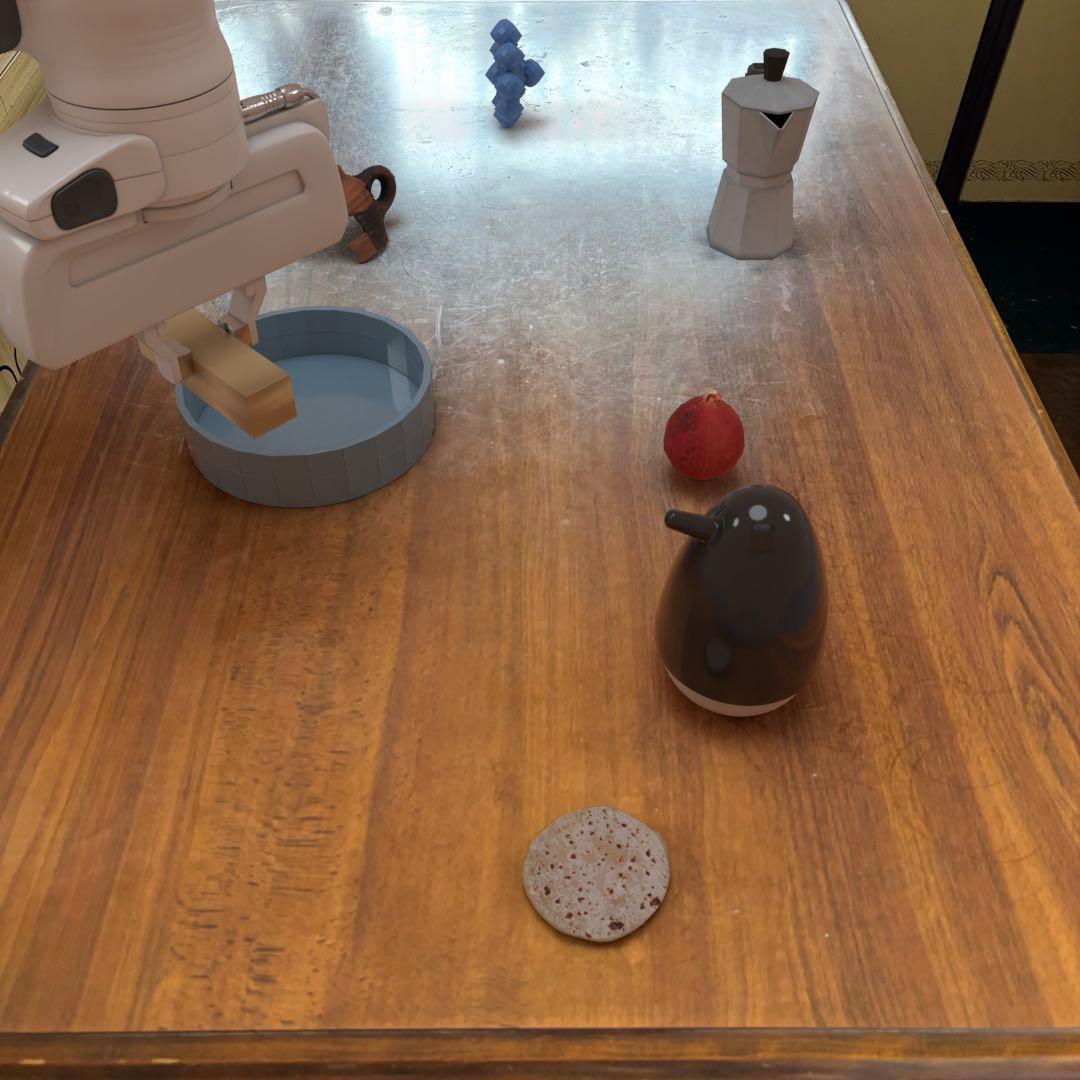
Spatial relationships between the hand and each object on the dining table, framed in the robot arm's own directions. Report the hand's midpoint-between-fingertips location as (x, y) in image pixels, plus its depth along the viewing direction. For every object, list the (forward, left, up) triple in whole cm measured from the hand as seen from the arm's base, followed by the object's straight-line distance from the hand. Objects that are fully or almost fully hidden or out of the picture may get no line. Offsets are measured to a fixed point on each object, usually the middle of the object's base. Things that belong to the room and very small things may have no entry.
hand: (210, 360), depth 65 cm
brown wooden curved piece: (-30, +33, -17) cm, 48 cm away
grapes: (-36, +63, -17) cm, 75 cm away
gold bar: (0, 0, -2) cm, 2 cm away
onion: (+17, +28, -17) cm, 37 cm away
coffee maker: (-2, +61, -17) cm, 63 cm away
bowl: (-9, +12, -17) cm, 23 cm away
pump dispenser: (+30, +14, -17) cm, 37 cm away
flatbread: (+33, -2, -17) cm, 37 cm away
